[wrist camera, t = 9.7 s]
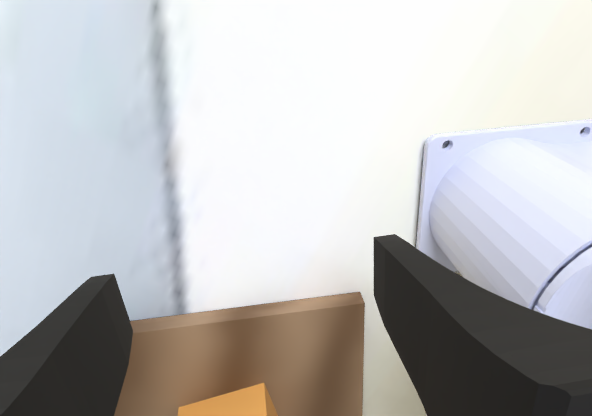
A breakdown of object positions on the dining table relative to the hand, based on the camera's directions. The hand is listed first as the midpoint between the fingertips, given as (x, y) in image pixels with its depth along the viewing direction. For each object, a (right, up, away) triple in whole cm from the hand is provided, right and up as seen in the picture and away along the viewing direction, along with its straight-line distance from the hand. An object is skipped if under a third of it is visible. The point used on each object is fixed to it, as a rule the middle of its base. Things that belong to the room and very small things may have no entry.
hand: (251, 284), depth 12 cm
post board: (-3, -11, +16) cm, 19 cm away
